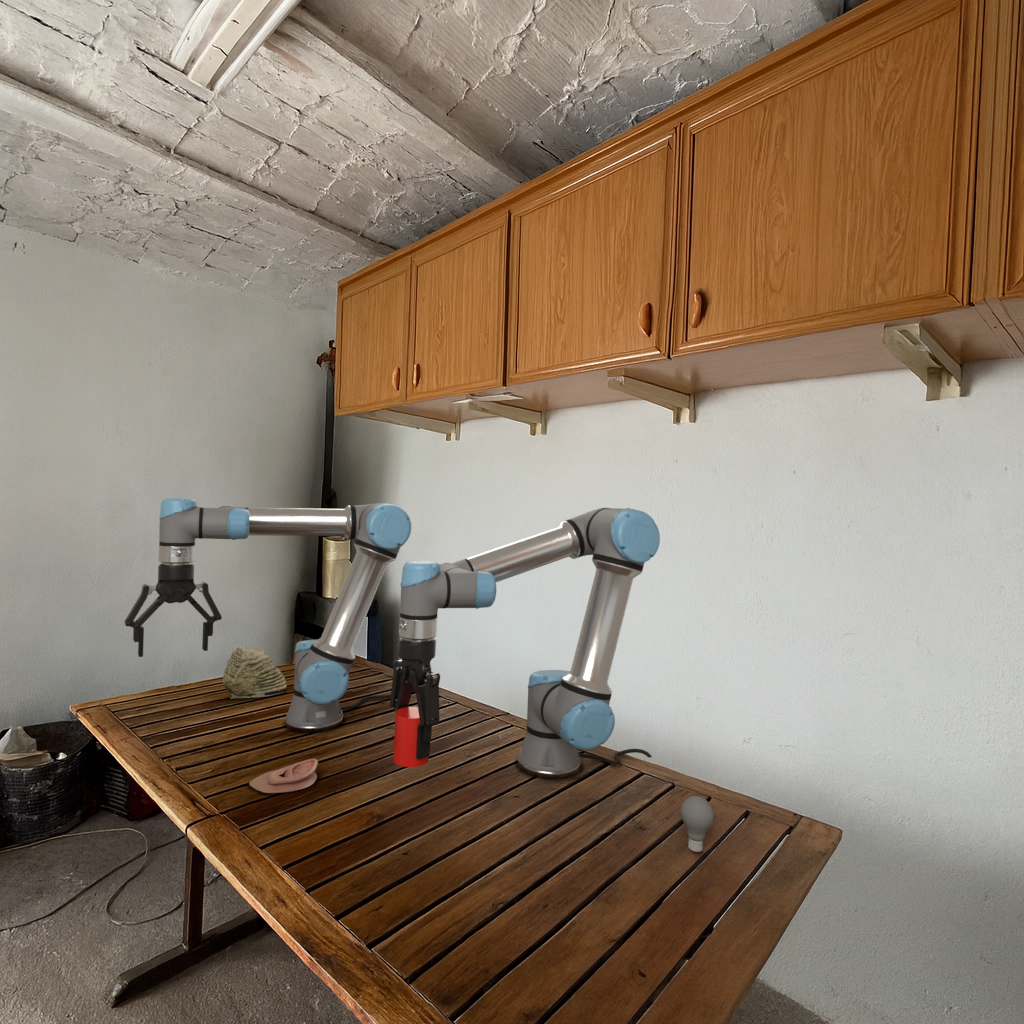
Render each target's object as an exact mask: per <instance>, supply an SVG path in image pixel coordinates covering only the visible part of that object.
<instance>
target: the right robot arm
mask: <svg viewBox="0 0 1024 1024" xmlns="http://www.w3.org/2000/svg"><path fill="white" fill-rule="evenodd" d="M660 535H661V534H660V530H659V527H658V525H657V524H656V522H655V520H654V519H653V517H652V516H651V515H650V514H648V513H647V512H645V511H643V510H638V509H635V508H629V507H627V508H620V507H619V508H617V507H614V508H613V507H600V508H596V509H593V510H590V511H587V512H585V513H581V514H578V515H576V516H574V517H572V518H569V519H565V520H563V521H561V522H560V523H559V525H558V527H555V528H552V529H549V530H545V531H543V532H541V533H537V534H535V535H532V536H528V537H526V538H522V539H519V540H517V541H514V542H511V543H507V544H504V545H502V546H499V547H496V548H493V549H489V550H487V551H484V552H481V553H479V554H476V555H473V556H469V557H466V558H464V559H461V560H458V561H457V560H456V561H454V562H452V563H451V562H443V563H439V562H436V561H430V560H409V561H406V562H405V563H404V564H403V566H402V571H401V581H400V602H399V603H400V605H399V606H400V608H399V623H398V636H399V637H400V638H399V639H398V641H397V642H398V643H397V657H398V658H400V659H398V660H393V662H392V669H393V674H392V682H391V691H390V694H391V697H390V698H389V706H390V708H393V710H394V713H395V714H396V711H397V710H398V709H401V708H404V707H409V705H410V701H411V699H412V696H413V695H412V694H413V692H414V693H415V697H416V703H417V707H418V711H419V718H420V724H419V725H417V747H416V759H422V758H426V757H429V758H430V756H431V742H432V730H433V726H435V725H439V724H440V682H441V681H440V680H441V674H440V673H439V672H438V673H434V672H433V671H432V666H431V661H432V660H433V659H434V658H435V657H436V650H437V640H436V639H435V638H436V637H437V635H438V611H439V609H476V610H478V609H484V608H490V607H492V606H493V605H494V603H495V601H496V597H497V583H498V582H502V581H505V580H508V579H509V578H513V577H516V576H518V575H521V574H523V573H527V572H530V571H532V570H533V571H534V570H535V569H538V568H542V567H544V566H547V565H549V564H552V563H555V562H558V561H561V560H563V559H567V558H570V559H572V560H576V559H579V558H581V557H586V556H592V558H591V562H592V563H593V565H594V566H595V573H594V577H593V580H592V581H593V582H592V585H591V589H590V593H589V597H588V601H587V605H586V608H585V613H584V616H583V621H582V624H581V627H580V628H581V629H580V633H579V636H578V640H577V645H576V648H575V651H574V656H573V661H572V664H571V667H570V670H564V669H543V670H536V671H533V672H531V674H530V675H529V678H528V685H527V708H526V709H527V710H526V711H527V712H526V714H527V715H526V733H525V735H524V738H523V740H522V743H521V748H520V749H519V751H518V755H517V766H518V767H519V769H521V770H522V771H523V772H525V773H526V774H528V775H532V776H533V777H538V778H544V779H564V778H569V777H572V776H574V775H576V774H578V773H579V771H580V770H581V758H583V759H589V760H590V759H591V760H597V761H602V762H604V763H607V764H610V765H613V766H614V765H619V764H620V763H621V758H620V756H623V755H626V754H632V753H633V754H634V753H637V754H643V755H644V756H645V757H647V758H653V756H652V754H650V752H648V751H646V750H644V749H642V748H628V749H624V750H619V751H617V752H615V753H614V754H613V757H614V759H615V760H612V759H609V758H607V757H605V756H601V755H595V754H589V753H582V752H578V751H579V750H580V751H587V752H588V751H592V750H595V749H598V748H599V747H600V746H601V745H604V744H605V743H606V742H607V741H608V740H609V739H610V737H611V736H612V734H613V731H614V729H615V724H616V718H615V713H614V712H613V711H614V710H613V709H612V707H611V706H610V704H611V703H610V702H611V699H612V694H613V690H612V688H611V686H610V684H609V678H610V674H611V672H612V671H611V670H612V668H613V667H612V666H613V662H614V658H615V654H616V650H617V645H618V642H619V639H620V634H621V630H622V627H623V622H624V618H625V614H626V610H627V606H628V602H629V597H630V594H631V591H632V586H633V582H634V579H635V578H636V577H638V576H639V575H641V574H643V571H644V567H645V563H646V562H649V561H650V560H651V559H652V558H654V556H656V554H657V552H658V550H659V547H660V543H661V537H660ZM412 691H413V692H412ZM425 719H426V720H425Z"/></svg>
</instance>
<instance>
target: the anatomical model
mask: <svg viewBox="0 0 1024 1024" xmlns="http://www.w3.org/2000/svg"><path fill="white" fill-rule="evenodd" d="M318 764H319V761H318V759H317V758H309V759H305V760H302V761H299V762H296V763H293V764H290V765H289V764H288V765H287V766H284V767H281V768H279V769H274V770H271V771H268V772H265V773H263V774H260V775H258V776H256V777H254V778H252V779H251V780H250V781H249V783H248V784H249V785H248V786H250V787H251V788H253V789H254V790H256V791H258V792H261V793H264V794H279V793H289V792H295V791H298V790H303V789H306V788H309V787H311V786H312V785H313V784H315V782H316V781H317V778H318V775H317V773H316V770H317V768H318Z"/></svg>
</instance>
